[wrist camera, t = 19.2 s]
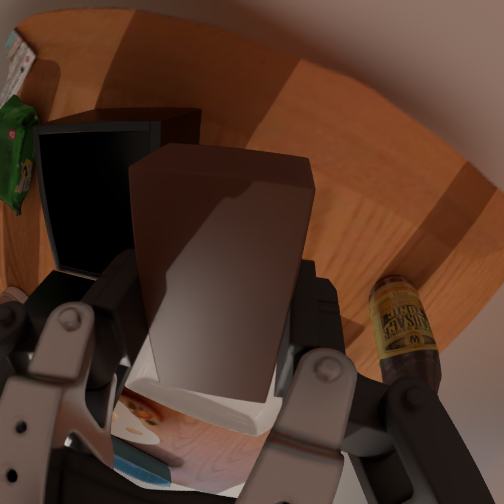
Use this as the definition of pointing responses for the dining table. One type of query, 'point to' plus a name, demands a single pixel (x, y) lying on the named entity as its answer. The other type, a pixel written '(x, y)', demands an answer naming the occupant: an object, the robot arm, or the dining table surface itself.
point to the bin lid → (55, 294)
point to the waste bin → (99, 178)
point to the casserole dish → (139, 464)
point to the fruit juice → (13, 295)
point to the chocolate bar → (218, 261)
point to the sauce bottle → (403, 333)
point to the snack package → (16, 151)
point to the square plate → (203, 400)
